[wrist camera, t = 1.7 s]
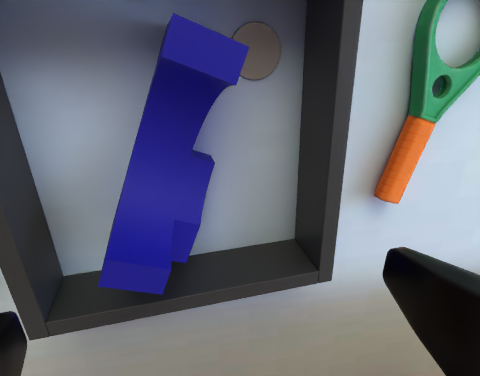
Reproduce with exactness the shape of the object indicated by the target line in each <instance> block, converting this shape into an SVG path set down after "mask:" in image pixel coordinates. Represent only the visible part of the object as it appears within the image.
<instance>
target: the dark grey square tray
mask: <svg viewBox="0 0 480 376" xmlns="http://www.w3.org/2000/svg"><path fill="white" fill-rule="evenodd" d="M362 6H363V0H307V15H306V34H305V54H304V73H303V92H302V112H301V131H300V151H299V170H298V190H297V209H296V228H295V239H291V240H285V241H278V242H272V243H266V244H260V245H254V246H248V247H242V248H236V249H230V250H223V251H217V252H211V253H205V254H199V255H193V256H189V257H188V260H187V262H186V263H181V262H175V261H171V272H170V274H169V277H168V280H167V283H166V286H165V289H164V291H163V294H162V295H161V294H154V293H146V292H138V291H130V290H122V289H114V288H106V287H98V284H99V280H100V276H101V271H102V270H101V271H95V272H89V273H83V274H77V275H71V276H65V277H63V274H62V271H61V268H60V264H59V261H58V258H57V255H56V251H55V248H54V245H53V242H52V239H51V235H50V232H49V229H48V226H47V222H46V219H45V216H44V213H43V209H42V206H41V203H40V200H39V197H38V193H37V190H36V187H35V184H34V180H33V177H32V174H31V171H30V167H29V164H28V161H27V158H26V154H25V151H24V148H23V145H22V142H21V138H20V135H19V132H18V129H17V125H16V122H15V119H14V116H13V112H12V109H11V106H10V103H9V99H8V96H7V93H6V90H5V87H4V83H3V80H2V77H1V74H0V268H1V270H2V273H3V275H4V278H5V280H6V283H7V285H8V288H9V290H10V293H11V295H12V298H13V300H14V303H15V305H16V308H17V310H18V313H19V315H20V318H21V320H22V323H23V325H24V328H25V330H26V333H27V335H28V337H29V340H35V339H40V338H45V337H49V336H54V335H59V334H64V333H69V332H74V331H79V330H84V329H89V328H94V327H99V326H105V325H110V324H115V323H120V322H125V321H130V320H135V319H140V318H145V317H150V316H155V315H160V314H165V313H170V312H175V311H180V310H185V309H190V308H195V307H200V306H205V305H211V304H216V303H221V302H226V301H231V300H236V299H241V298H246V297H251V296H256V295H261V294H266V293H271V292H276V291H281V290H286V289H291V288H296V287H301V286H306V285H311V284H316V283H322V282H327V281H331V280H332V272H333V263H334V254H335V245H336V236H337V228H338V219H339V210H340V201H341V192H342V183H343V174H344V165H345V157H346V148H347V139H348V130H349V121H350V112H351V103H352V94H353V86H354V77H355V68H356V59H357V50H358V41H359V32H360V23H361V14H362ZM232 39H233V40H235V41H237V42H239V43H242V44H244V45H246V46H248V47H249V50H248V53H247V56H246V59H245V62H244V64H243V67H242V70H241V73H240V75H241V76H243V77H245V78H248V79H252V80H257V79H262V78H264V77H266V76H268V75H269V74H271V73H272V72H273V70H274V69H275V68H276V66H277V64H278V62H279V59H280V53H281V47H280V42H279V39H278V36H277V35H276V33H275V32H274V30H273V29H272V28H270V27H269V26H268V25H266V24H264V23H260V22H251V23H248V24H245V25H244V26H242V27H241V28H239V29H238V30H237V31H236V33H235V34H234V36H233V38H232Z"/></svg>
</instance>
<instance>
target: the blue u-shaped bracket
mask: <svg viewBox="0 0 480 376" xmlns="http://www.w3.org/2000/svg"><path fill="white" fill-rule="evenodd" d="M248 50H249V47H248V46H246V45H244V44H242V43H239V42H237V41H235V40H233V39H230V38H228V37H226V36H224V35H221V34H219V33H217V32H215V31H212V30H210V29H208V28H206V27H203V26H201V25H199V24H197V23H194V22H192V21H190V20H188V19H185V18H183V17H181V16H179V15H176V14H174V13H173V15H172V17H171V19H170V20H169V22H168V24H167V27H166V31H165V34H164V38H163V42H162V45H161V49H160V53H159V56H158V60H157V64H156V67H155V71H154V75H153V78H152V82H151V86H150V89H149V93H148V96H147V100H146V104H145V107H144V111H143V115H142V118H141V122H140V126H139V129H138V133H137V137H136V140H135V144H134V148H133V151H132V155H131V159H130V162H129V166H128V170H127V173H126V177H125V181H124V184H123V188H122V192H121V195H120V199H119V203H118V206H117V210H116V214H115V217H114V221H113V225H112V229H111V233H110V237H109V242H108V246H107V250H106V254H105V259H104V263H103V267H102V271H101V276H100V280H99V284H98V287H106V288H114V289H122V290H130V291H138V292H146V293H154V294H161V295H162V294H163V291H164V289H165V286H166V283H167V280H168V277H169V274H170V272H171V261H175V262H181V263H186V262H187V260H188V257H189V254H190V251H191V249H192V246H193V243H194V241H195V238H196V235H197V232H198V230H199V227H200V222H201V215H202V210H203V204H204V200H205V195H206V191H207V187H208V183H209V180H210V176H211V173H212V170H213V167H214V164H215V162H214V161H213V159H212V157H211V155H207V154H204V153H201V152H197V151H194V150H192V149H193V146H194V144H195V141H196V138H197V136H198V133H199V131H200V129H201V126H202V124H203V122H204V120H205V118H206V116H207V114H208V112H209V110H210V108H211V106H212V105H213V103H214V102H215V100H216V99H217V97H218V96H219V95H220V93H221V92H222V91H223V90H224V89H225V88H227V87H228V86H230V85H236V84H237V81H238V79H239V76H240V73H241V70H242V67H243V64H244V62H245V59H246V56H247V53H248Z"/></svg>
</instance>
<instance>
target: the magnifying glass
mask: <svg viewBox="0 0 480 376" xmlns="http://www.w3.org/2000/svg"><path fill="white" fill-rule="evenodd" d="M447 1H448V0H427V2H426V3H425V5H424V7H423V10H422V12H421V14H420V17H419V20H418V24H417V27H416V33H415V41H414V54H413V70H412V86H411V102H410V108H409V113H408V114H409V116H408V117H407V119H406V122H405V124H404V126H403V129H402V131H401V133H400V135H399V138H398V140H397V142H396V144H395V147H394V149H393V151H392V154H391V156H390V158H389V161H388V163H387V165H386V168H385V170H384V172H383V175H382V177H381V179H380V181H379V184H378V186H377V188H376V191H375V193H374V195H375V196H376V197H377V198H379V199H380V200H383V201H386V202H391V203H396V204H398V203H399V201H400V199H401V197H402V195H403V193H404V190H405V188H406V186H407V184H408V182H409V179H410V178H411V175H412V173H413V171H414V169H415V167H416V164H417V163H418V160H419V158H420V156H421V154H422V152H423V150H424V148H425V145H426V143H427V141H428V139H429V137H430V134H431V132H432V130H433V128H434V126H435V123H436V122H438V120H439V119H440V118H441V116H442V115H443V114H444V112H445V111H446V110H447V109H448V108H449V107H450V106H451V105H452V104H453V103H454V102H455V101H456V99H457V98H458V97H459V96H460V95H461V94H462V93H463V92H464V91H465V90H466V89H467V88H468V87H469V86H470V85H471V84H472V83H473V82H474V81H475V80H476V78H477V77H478V76H479V75H480V49H479V51H478V52H477V53H476V54H475V55H474V56H473V57H472V58H471V59H470V60H469V61H468V62H467V63H465V64H464V65H462V66H459V67H456V68H451V67H449V66H447V65H446V64H444V63H443V62H442V60H441V59H440V57H439V55H438V53H437V49H436V44H435V33H436V26H437V22H438V19H439V16H440V13H441V11H442V9H443V7H444V5H445V4H446V2H447ZM439 76H440V77H441V80H442V85H441V89H440V90H439V92H438V93H437V94H436V95H435V96H433V94H432V86H433V83H434V81H435V80H436V79H437V78H438V77H439Z"/></svg>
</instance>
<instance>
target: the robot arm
mask: <svg viewBox="0 0 480 376" xmlns="http://www.w3.org/2000/svg"><path fill="white" fill-rule="evenodd" d="M383 279H384V282H385V284H386V285H387V287H388V289H389V290H390V292H391V294H392V295H393V297H394V299H395V300H396V302H397V304H398V305H399V307H400V309H401V310H402V312H403V314H404V315H405V317H406V319H407V320H408V322H409V324H410V325H411V327H412V329H413V330H414V332H415V333H416V335H417V336H418V338H419V339H420V341H421V342H422V343H423V345H424V346H425V347H426V349H427V350H428V352H429V353H430V354H431V356H432V357H433V358H434V360H435V361H436V363H437V364H438V365H439V367H440V368H441V369H442V371H443V372H444V374H445V375H446V376H480V275H478V274H475V273H473V272H470V271H467V270H465V269H462V268H459V267H457V266H454V265H451V264H449V263H446V262H443V261H441V260H438V259H435V258H433V257H430V256H427V255H425V254H422V253H419V252H417V251H414V250H411V249H409V248H406V247H399V248H393V249H390V250H389V251H388V252H387V256H386V260H385V265H384V269H383ZM26 350H27V339H26V336H25V333H24V331H23V328H22V326H21V323H20V321H19V318H18V316H17V314H16V313H15V312H12V311H9V312H3V313H0V376H21V372H22V368H23V363H24V359H25V355H26Z"/></svg>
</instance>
